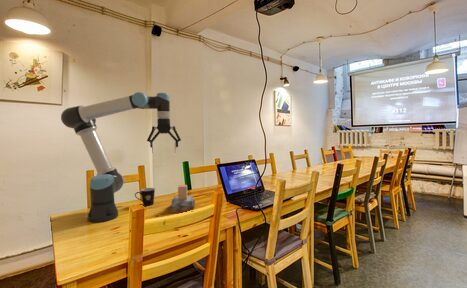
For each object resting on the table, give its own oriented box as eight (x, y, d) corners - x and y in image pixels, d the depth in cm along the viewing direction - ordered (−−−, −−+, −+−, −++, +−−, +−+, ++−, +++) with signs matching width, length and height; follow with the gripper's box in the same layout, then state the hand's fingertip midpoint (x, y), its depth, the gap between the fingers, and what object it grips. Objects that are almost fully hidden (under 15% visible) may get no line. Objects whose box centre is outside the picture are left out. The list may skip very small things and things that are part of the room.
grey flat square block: (169, 212, 144) (169, 202, 144) (173, 205, 158) (172, 196, 158) (193, 211, 145) (193, 201, 145) (195, 204, 159) (194, 195, 159)
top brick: (178, 200, 149) (178, 187, 148) (179, 197, 153) (179, 185, 153) (186, 199, 149) (186, 186, 149) (187, 197, 154) (187, 184, 154)
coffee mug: (157, 202, 165) (156, 187, 164) (151, 206, 156) (151, 191, 155) (140, 202, 166) (140, 187, 165) (134, 206, 157) (133, 190, 157)
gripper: (141, 118, 146) (142, 153, 147) (183, 118, 149) (184, 152, 150) (144, 118, 154) (145, 152, 155) (184, 118, 156) (185, 151, 157)
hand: (164, 152), depth 152 cm, fingers open, 13 cm apart
